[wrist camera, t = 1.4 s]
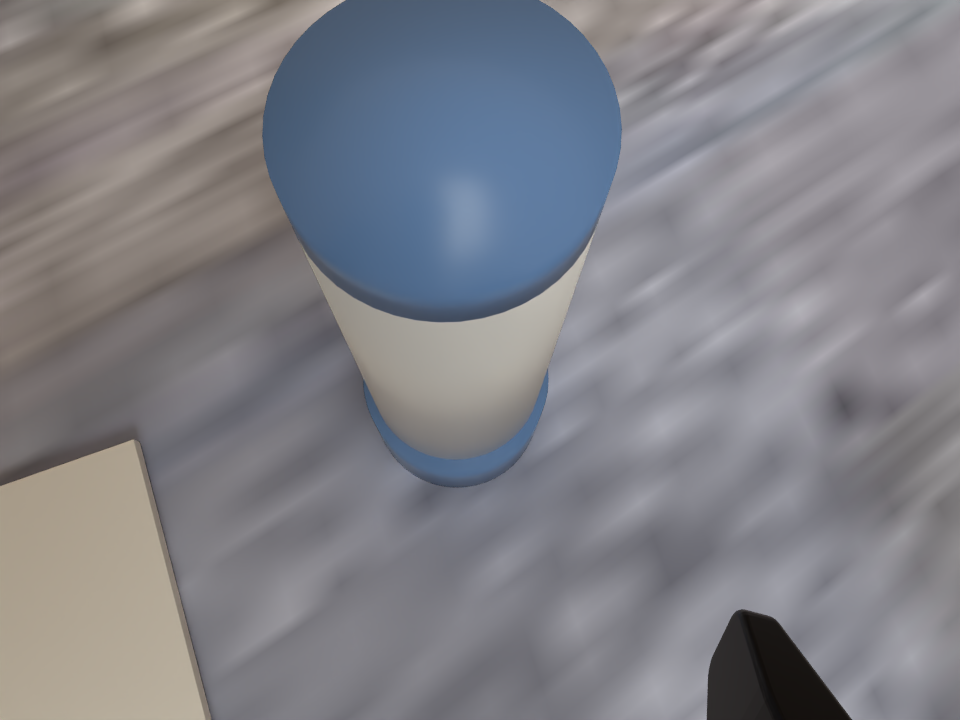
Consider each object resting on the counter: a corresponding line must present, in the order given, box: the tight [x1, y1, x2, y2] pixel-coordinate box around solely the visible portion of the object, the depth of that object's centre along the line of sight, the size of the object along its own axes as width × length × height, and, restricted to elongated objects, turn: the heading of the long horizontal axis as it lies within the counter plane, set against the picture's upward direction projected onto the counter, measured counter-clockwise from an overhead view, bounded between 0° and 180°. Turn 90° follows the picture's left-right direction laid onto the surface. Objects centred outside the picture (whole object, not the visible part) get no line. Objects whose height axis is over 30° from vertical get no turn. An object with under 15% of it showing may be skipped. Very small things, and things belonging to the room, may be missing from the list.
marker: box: [262, 0, 622, 487], centre depth 15 cm, size 4×4×13 cm
